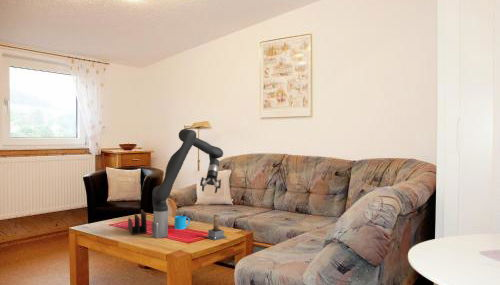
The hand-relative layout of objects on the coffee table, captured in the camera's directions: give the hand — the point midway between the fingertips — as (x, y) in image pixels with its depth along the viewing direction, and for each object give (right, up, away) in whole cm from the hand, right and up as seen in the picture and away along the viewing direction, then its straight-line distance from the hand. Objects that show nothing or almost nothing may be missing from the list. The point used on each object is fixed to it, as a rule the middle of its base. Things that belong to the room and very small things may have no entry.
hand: (209, 191), depth 259 cm
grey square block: (+6, -28, -13) cm, 32 cm away
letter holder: (-50, -28, +2) cm, 58 cm away
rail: (+6, -28, -12) cm, 31 cm away
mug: (-21, -28, +13) cm, 37 cm away
